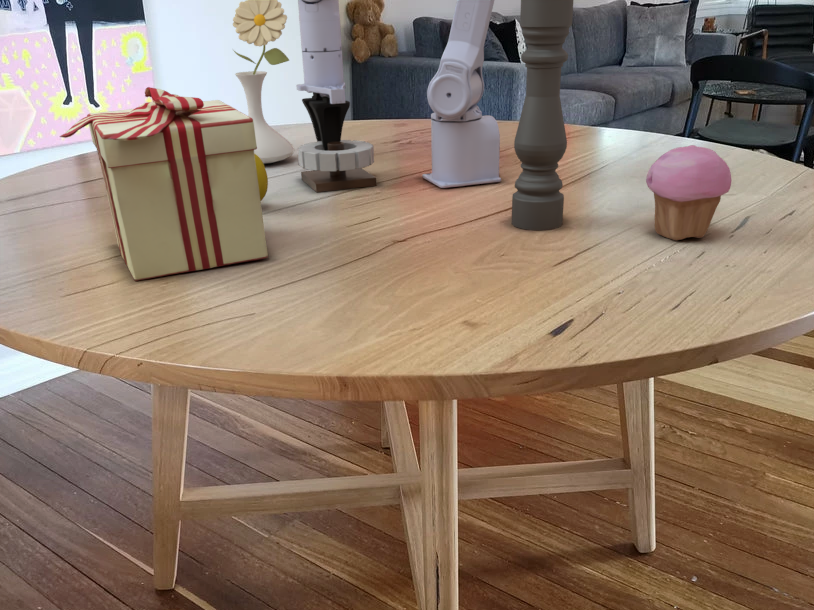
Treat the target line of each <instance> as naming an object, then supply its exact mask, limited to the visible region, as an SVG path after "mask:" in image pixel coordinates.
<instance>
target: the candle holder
mask: <svg viewBox="0 0 814 610" xmlns="http://www.w3.org/2000/svg"><path fill="white" fill-rule="evenodd" d="M519 13H520V14H519V15H520V17H519V18H520V19H519V27H520V28H522V32H521V34H522V36H523V38H524V41H525V44H526V45H527V48H526V50H524V51H523V52H522V53H521V55H520V60H521V62H522V63H524V64H525V65H524V67H525V68H526V76H525V77H526V80H525V81H526V82H525V96H524V97H525V98H524V100H523V104H522V109H521V113H520V117H519V121H518V124H517V129H516V132H515V137H514V141H513V147H514V152H515V155H516V157H517V158H518V160H519V162H521V163H520V168H521V169H522V172H521V173H520V174H519V175H518V178H516V179H515V182H514V189H516V190H517V191H516V192H513V193H512V195H511V225H512V227H515V228H517V229H520V230H528V231H546V230H554V229H558V228H559V227H560V228H561V226H563V220H564V219H563V218H564V203H565V195H564V193H563V192H561V191H560V190H562V189H563V187H564V185H563V181H562V179H561V178H560V175H559V174H558V172H556V170H557V169H558V168H559V162H560V161H561V160H562V158H563V157H564V155H565V153H566V150H567V147H568V139H567V138H568V137H567V132H566V127H565V120H564V115H563V108H562V102H561V79H562V67H564V63H566V62H567V61H568V58H569V53H568V52H567V50H564V48H563V45H564V44H565V43H566V38H567V37H568V36H569V34H570V27H572V26H573V17H574V0H520V12H519Z"/></svg>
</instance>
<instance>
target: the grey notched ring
mask: <svg viewBox="0 0 814 610" xmlns="http://www.w3.org/2000/svg"><path fill="white" fill-rule="evenodd" d="M340 142H344V150H339V151H325V150H324V148H323V144H322V141H318V142H317V141H312V142H307V143H304V144H301V145H300V146H298V147H297V159H298V166H299V167H300V168H302V169H305V170H307V171H313V170H314V171H318V170H320V171H337V170H340V171H346V170H355V169H356V168H357V169H360V168H362V169H364V168H367V167H370V166H372V165H373V164H374V163H375V152H374V151H375V149H374V148H375V147H374V144H373V143H372V142H371V143H370V142H368V141H364V140H357V139H353V140H352V139H341V141H340Z"/></svg>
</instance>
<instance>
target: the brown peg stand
mask: <svg viewBox="0 0 814 610" xmlns="http://www.w3.org/2000/svg"><path fill="white" fill-rule="evenodd" d="M339 150H344V142H329V143H328V151H339ZM300 175H301V180H302V182H303V183H305V184H306V185H308V187H310V188H311V189H312V190H313V191H314V192H316V193H323V192H331V191H333V192H334V191H341V190H350V189H351V190H352V189H359V188H360V189H361V188H367V187H376V186H377V177H376V176H374V175H373V174H372V173H370V172H368V171H367V170H366V169H364V168H360V169H357V168H356V169H355V170H346V171H340V170H337V171H320V170H318V171H314V170H304V171H303V170H302V171H300Z"/></svg>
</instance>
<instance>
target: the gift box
mask: <svg viewBox="0 0 814 610" xmlns="http://www.w3.org/2000/svg"><path fill="white" fill-rule="evenodd" d="M144 94H145V95H144V97H145V98H151V101H152V102H151V101H149V102H143V103H141V105H139V106H137V107H135V108H128V109H119V110H111V111H101V112H100V111H99V112H91V113H88V114H87V115H86V116H85V117H82V118H81V119H79V121H77V122H75V123H74V124H73V125H72V126H71V127H70V128H69V129H68V130H66V132H65V133H63V134H61V135H59V138H65V139H66V138H70V137H72V136H74V135H75V134H76V133H77V132H78V131H79V130H81V129H84V128H85V127H87V126H88V127H89V132H90V137H91V140H92V143H93V145H94V147H95V148H96V152H97V156H98V160H99V165H100V168H101V169H100V170H101V173H102V178H103V183H104V187H105V191H106V195H107V200H108V205H109V209H110V214H111V219H112V224H113V228H114V233H115V237H116V242H117V247H118V249H119V253H120V256H121V258H122V259H123V260H124V264H125V265H126V267H127V268H128V270H129V272H130V273H129V274H130V275H131V277H132V279H133V280H134V281H137V282H138V281H143V280H149V279H154V278H161V277H165V276H172V275H176V274H182V273H188V272H196V271H201V270H206V269H213V268H217V267H223V266H229V265H234V264H239V263H246V262H247V263H248V262H252V261H253V262H254V261H258V260H259V261H260V260H263V259H267V258H269V252H268V247H267V241H266V239H267V238H266V232H265V223H264V218H263V210H262V201H260V193H259V186H258V178H257V170H256V162H255V156H254V150H256V149H257V145H256V137H255V129H254V122H253V119H252V118H251V117H249V116H248V115H247V114H246V113H244V112H241V111H239V110H238V109H237V108H235V107H233V106H231V105H229V104H227V103H225V102H224V101H221V100H220V99H215V100H214V99H213V100H205V101H203V100H202V99H201V98H200V97H195V96H194V97H193V96H181V95H178V94H176V93H175V94H174V93H170V92H168V91H167V90H164V89H161V88H155V87H150V86H148V87H147V86H146V88H145V91H144Z"/></svg>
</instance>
